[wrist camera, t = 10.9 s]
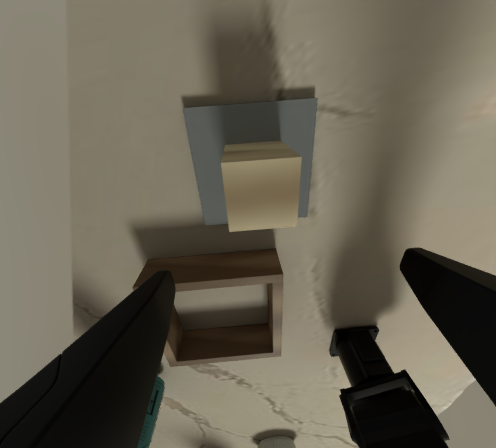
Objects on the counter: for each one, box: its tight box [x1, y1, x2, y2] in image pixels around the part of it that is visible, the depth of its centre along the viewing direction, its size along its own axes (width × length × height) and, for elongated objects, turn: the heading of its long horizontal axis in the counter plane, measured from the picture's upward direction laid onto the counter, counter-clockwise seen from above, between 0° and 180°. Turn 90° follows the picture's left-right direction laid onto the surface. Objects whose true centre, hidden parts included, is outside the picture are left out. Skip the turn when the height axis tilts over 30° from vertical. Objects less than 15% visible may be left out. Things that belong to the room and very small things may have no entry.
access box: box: [133, 249, 283, 367], centre depth 25 cm, size 14×14×4 cm
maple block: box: [221, 141, 302, 232], centre depth 15 cm, size 4×4×6 cm
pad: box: [183, 98, 318, 225], centre depth 18 cm, size 10×10×1 cm
